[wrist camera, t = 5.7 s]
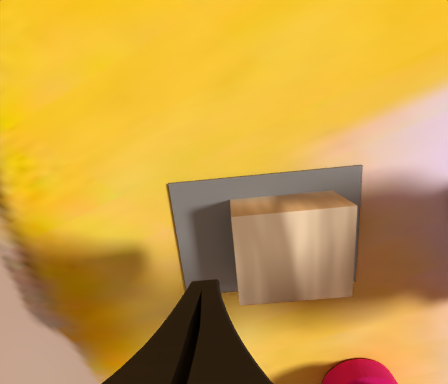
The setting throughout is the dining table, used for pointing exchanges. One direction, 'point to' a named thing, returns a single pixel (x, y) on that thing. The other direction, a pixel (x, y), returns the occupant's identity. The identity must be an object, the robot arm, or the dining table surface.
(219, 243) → the grey panel
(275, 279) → the birch block
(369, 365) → the pepper mill
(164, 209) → the dining table surface
